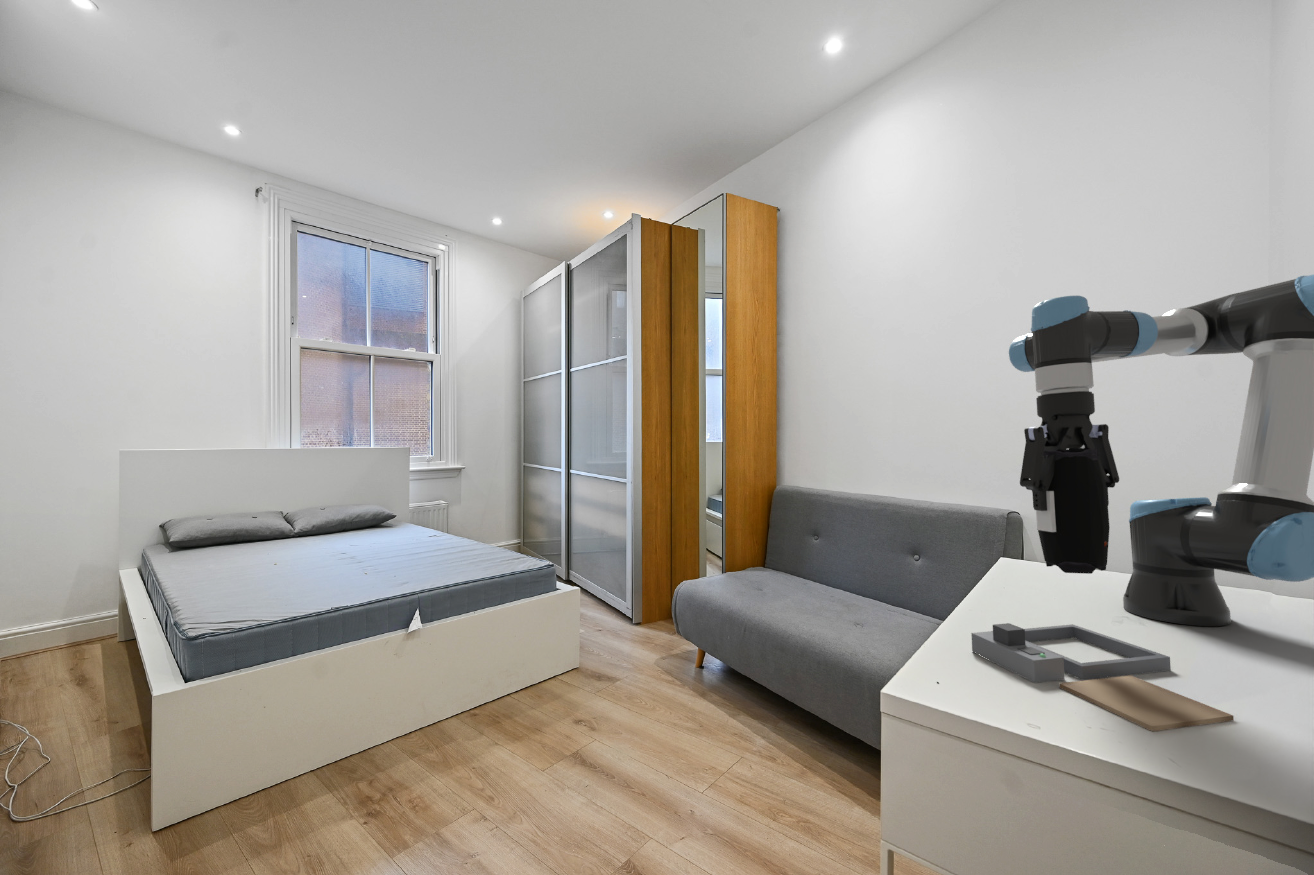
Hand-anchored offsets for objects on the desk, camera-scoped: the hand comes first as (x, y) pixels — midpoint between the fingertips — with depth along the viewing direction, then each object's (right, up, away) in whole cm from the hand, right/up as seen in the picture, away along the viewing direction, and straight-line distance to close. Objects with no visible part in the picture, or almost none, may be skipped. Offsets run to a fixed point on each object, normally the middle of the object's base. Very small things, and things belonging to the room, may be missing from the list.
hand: (1072, 528), depth 86 cm
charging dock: (-1, -21, -1) cm, 21 cm away
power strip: (-12, -21, -4) cm, 24 cm away
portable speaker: (0, -7, 0) cm, 7 cm away
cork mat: (-4, -20, -17) cm, 26 cm away
